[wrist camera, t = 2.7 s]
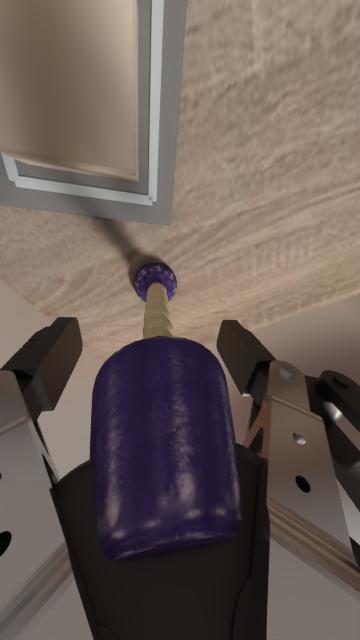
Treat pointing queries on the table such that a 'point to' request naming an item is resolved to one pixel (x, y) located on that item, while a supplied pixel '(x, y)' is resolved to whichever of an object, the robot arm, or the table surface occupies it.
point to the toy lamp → (162, 438)
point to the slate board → (154, 138)
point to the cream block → (70, 85)
